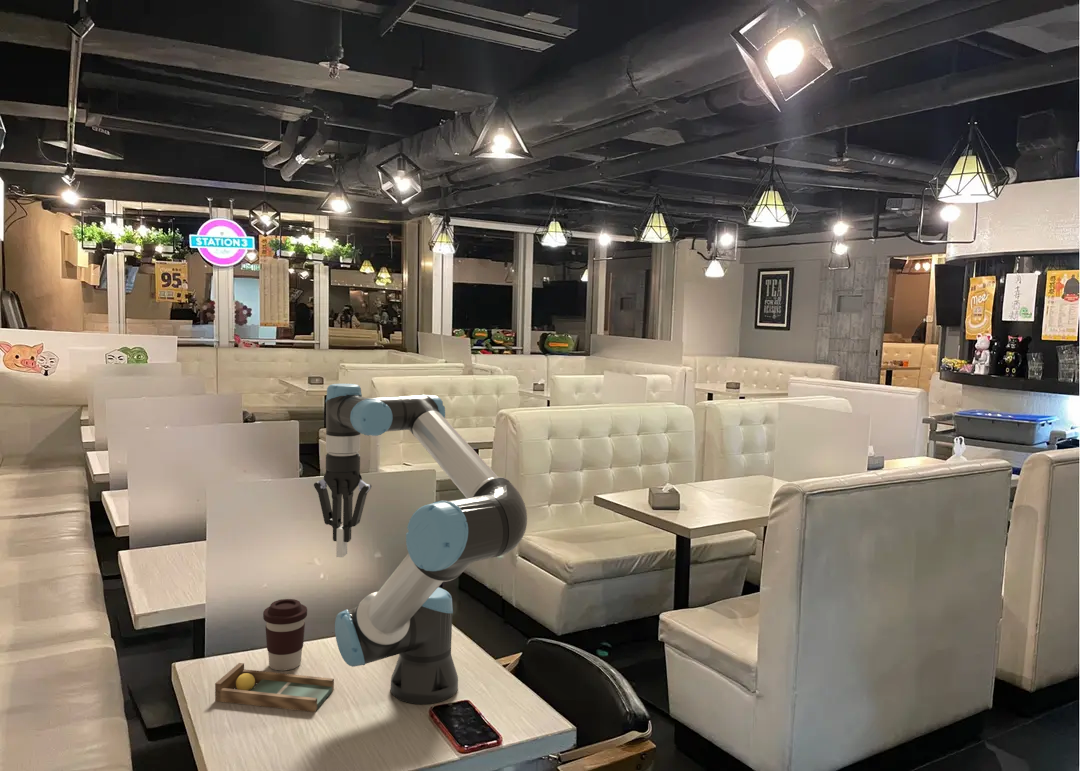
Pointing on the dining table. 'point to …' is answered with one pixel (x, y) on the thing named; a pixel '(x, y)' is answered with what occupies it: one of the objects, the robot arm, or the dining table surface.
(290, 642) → the coffee cup
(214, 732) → the dining table surface
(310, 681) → the tray
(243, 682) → the ball
